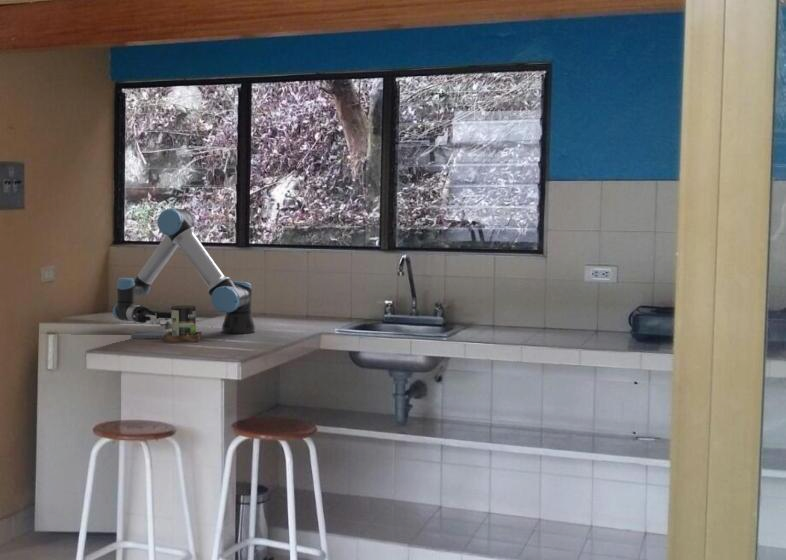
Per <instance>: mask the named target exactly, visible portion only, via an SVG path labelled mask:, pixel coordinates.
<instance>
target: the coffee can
mask: <svg viewBox="0 0 786 560" xmlns="http://www.w3.org/2000/svg"><path fill="white" fill-rule="evenodd" d="M170 308H171V311H170V312H172V319H171V332H172V335H194V336H196V332H197V328H196V327H197V326H196V325H197V323H196V321H197V320H196V319H197V315H196V314H197V313H196V308H197V307H196V306H195V305H174V306H170Z"/></svg>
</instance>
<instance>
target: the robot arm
mask: <svg viewBox="0 0 786 560" xmlns="http://www.w3.org/2000/svg"><path fill="white" fill-rule="evenodd" d="M195 224H196V223H195V217H194V215H193V214H192V212H190V211H189V210H187V209H185V208H173V207H172V208H171V207H170V208H168V209H165V210H163V211H162V212H161V213H159V215H158V217H157V227H158V229H159V232H161V233H162V234H163V235H164V237H163V238H162V240H161V241H160V243H158V246H157V247H156V248H155V249H154V251H153V253H152V254H151V255H150V257H149V258H148V260H146V261H147V262H145V264H144V265H143V267H142V268H141V270H140V271H139V272H138V273H137V276H136V277H135V278H133V277H119V278H118V279H117V285H116V287H117V289H116V290H117V294H116V295H117V296H116V297H117V299H116V300H117V303H116V304H115V305H114V306H113V308H112V315H113V317H114V318H115V319H116V320H120V321H123V322H133V324H136V323H140V324H145V323H147V322H150V323H157V320H159V319H171V320H172V311H159V310H158V311H157V310H150V309H149V307H147V306H146V305H144V306H143V305H137V304H135V302H136V301H135V298H138V297H139V298H140V297H145V296H146V295H148V294H149V293H150V290H151V285H152V284H153V282H154V281H155V279H156V278H157V277H158V276H159V274H160V273H161V271H162V270H163V269H164V267H165V266H166V264H168V262H169V260H170V259H171V257H172V256H173V254H174V253H175V252H176V250H177V249H178V247H180V249H181V251H182V252H183V253H184V255H185V256H186V257H187V259H188V260H189V261H190V263H191V265H192V266H193V268H194V269H195V270H196V272H197V273H198V274H199V276H200V278H201V279H202V281H203V282H204V283H205V285H206V286H207V287H208V288H207V293H208V295H209V296H210V298H211V299H210V300H211V303H212V306H213V307H214V309H216V310H217V311H218V312H220V313H225V316H224V319H223V323H222V326H221V332H222V333H227V334H251V333H255V332H256V326H255V323H254V320H253V316H252V292H253V288H252V284H251V283H250V282H247V281H234V280H232V279H231V278H230V276H225V274H223V272H222V270H221V269H220V267H219V266H218V265H217V263H216V262H215V261H214V259H213V258H212V256H211V255H210V254H209V252H208V251H207V249H206V248H205V246H204V245H203V243H201V241H200V240H199V238H198V237H197V236H196V234H195Z"/></svg>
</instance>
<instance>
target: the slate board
mask: <svg viewBox="0 0 786 560" xmlns="http://www.w3.org/2000/svg"><path fill="white" fill-rule="evenodd" d="M166 333H167V331H147V330H146V331H145V330H143V331H139V330H138V331H134V332H133V333H132V334H131V335H130V339H133V340H135V339H137V340H141V339H143V340H144V339H145V338H154V340H156V339H155V338H159V340H163V339H164V335H165V334H166Z"/></svg>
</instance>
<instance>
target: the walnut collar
mask: <svg viewBox="0 0 786 560" xmlns="http://www.w3.org/2000/svg"><path fill="white" fill-rule="evenodd" d="M202 336H203V335H202V331H196V336H194V335H172V331H166V334H165V335H164V337H163V342H164V343H165V342H166V343H167V342H169V343H170V342H171V343H172V342H173V343H175V342H176V343H181V342H182V343H186V342H187V343H191V342H192V343H193V342H194V343H195V342H197V343H198V342H200V340H201V339H202Z"/></svg>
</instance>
